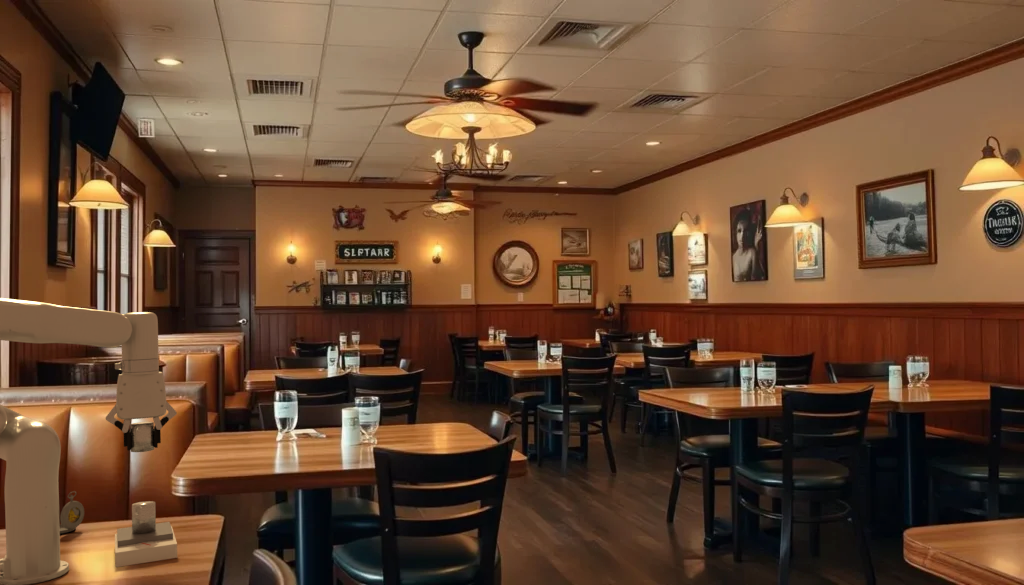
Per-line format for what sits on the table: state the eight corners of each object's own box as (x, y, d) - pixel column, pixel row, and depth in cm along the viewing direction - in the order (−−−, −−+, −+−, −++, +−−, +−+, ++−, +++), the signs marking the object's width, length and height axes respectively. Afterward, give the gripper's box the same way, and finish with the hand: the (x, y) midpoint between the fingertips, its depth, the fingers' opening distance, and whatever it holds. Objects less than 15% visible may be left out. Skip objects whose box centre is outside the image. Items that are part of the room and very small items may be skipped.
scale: (115, 567, 170) (115, 547, 170) (115, 547, 184) (114, 528, 184) (177, 557, 175) (176, 538, 175) (172, 538, 190) (171, 520, 190)
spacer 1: (130, 453, 178) (130, 425, 178) (130, 449, 183) (129, 423, 183) (154, 450, 181) (154, 423, 181) (153, 447, 185) (153, 421, 185)
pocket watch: (49, 529, 201) (48, 489, 201) (86, 525, 203) (85, 485, 203) (40, 538, 193) (39, 496, 193) (80, 534, 195) (79, 493, 195)
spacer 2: (128, 533, 179) (128, 506, 179) (137, 528, 184) (137, 501, 184) (150, 532, 179) (150, 505, 179) (159, 527, 184) (158, 501, 184)
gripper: (97, 370, 175) (99, 455, 174) (182, 365, 182) (184, 446, 182) (98, 368, 181) (100, 449, 181) (180, 363, 189) (181, 442, 189)
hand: (142, 447), depth 182 cm, fingers closed on spacer 1, 4 cm apart
